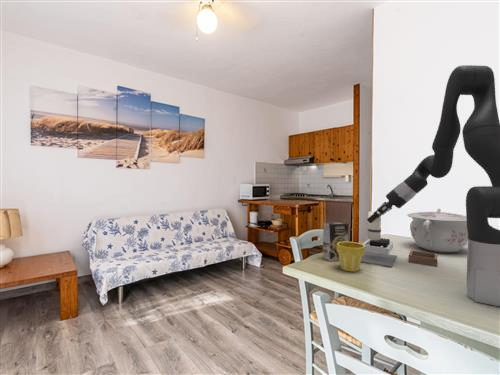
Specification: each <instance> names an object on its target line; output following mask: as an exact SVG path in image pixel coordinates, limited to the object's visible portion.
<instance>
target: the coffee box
mask: <svg viewBox="0 0 500 375" xmlns="http://www.w3.org/2000/svg"><path fill="white" fill-rule="evenodd" d="M322 230H323V235H322V236H323V237H322V238H323V240H322V258H323V259H324V260H327V261H329V262H337V261H338V262H340V259H339V254H338V252H337V243H338V242H349V223H347V222H343V221H342V222H341V221H328V222H326V221H325V222H323V228H322Z"/></svg>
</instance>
